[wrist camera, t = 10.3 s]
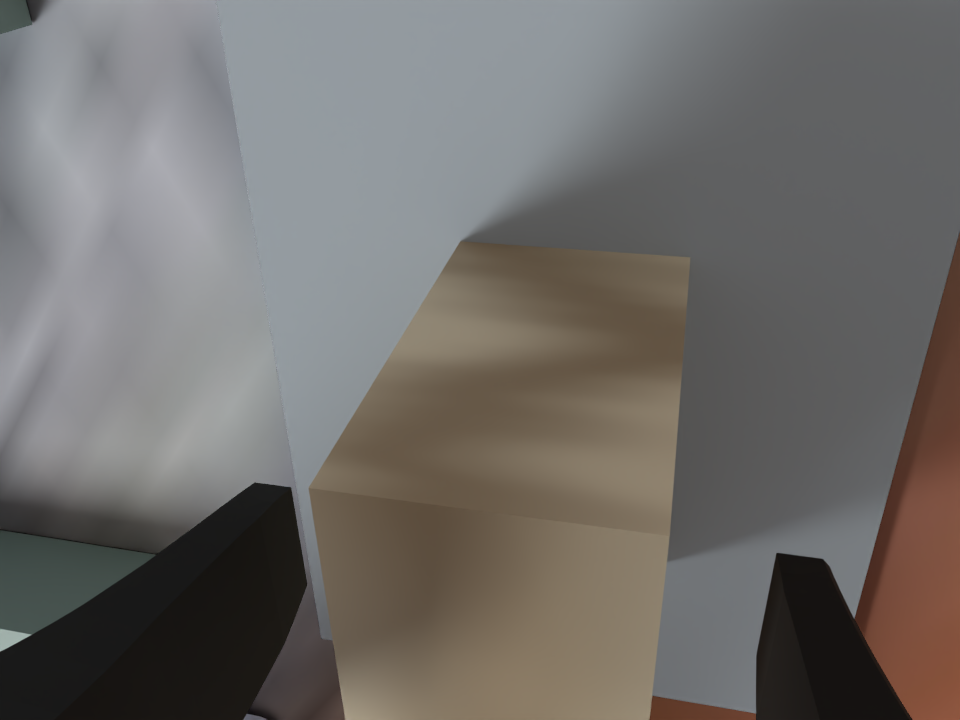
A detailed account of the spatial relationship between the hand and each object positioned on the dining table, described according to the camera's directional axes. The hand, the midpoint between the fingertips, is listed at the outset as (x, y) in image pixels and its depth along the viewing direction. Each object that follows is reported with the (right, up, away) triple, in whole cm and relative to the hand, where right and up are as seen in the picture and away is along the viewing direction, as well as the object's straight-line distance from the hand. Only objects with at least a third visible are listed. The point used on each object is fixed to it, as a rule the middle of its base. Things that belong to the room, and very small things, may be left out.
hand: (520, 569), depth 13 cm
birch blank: (+1, +2, +4) cm, 5 cm away
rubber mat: (+1, +3, +4) cm, 5 cm away
